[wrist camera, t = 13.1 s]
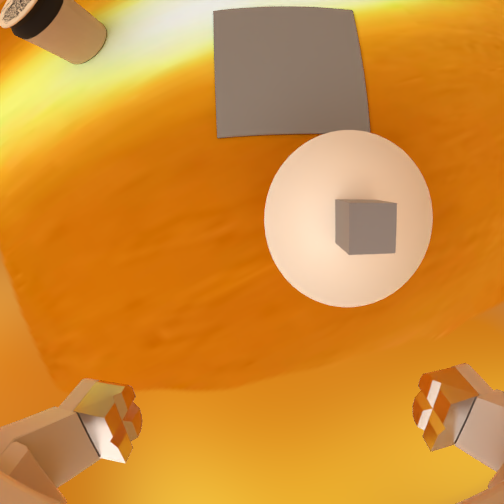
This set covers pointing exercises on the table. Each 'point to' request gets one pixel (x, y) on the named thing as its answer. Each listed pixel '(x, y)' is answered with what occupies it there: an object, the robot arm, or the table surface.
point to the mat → (288, 72)
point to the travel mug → (55, 27)
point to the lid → (348, 218)
